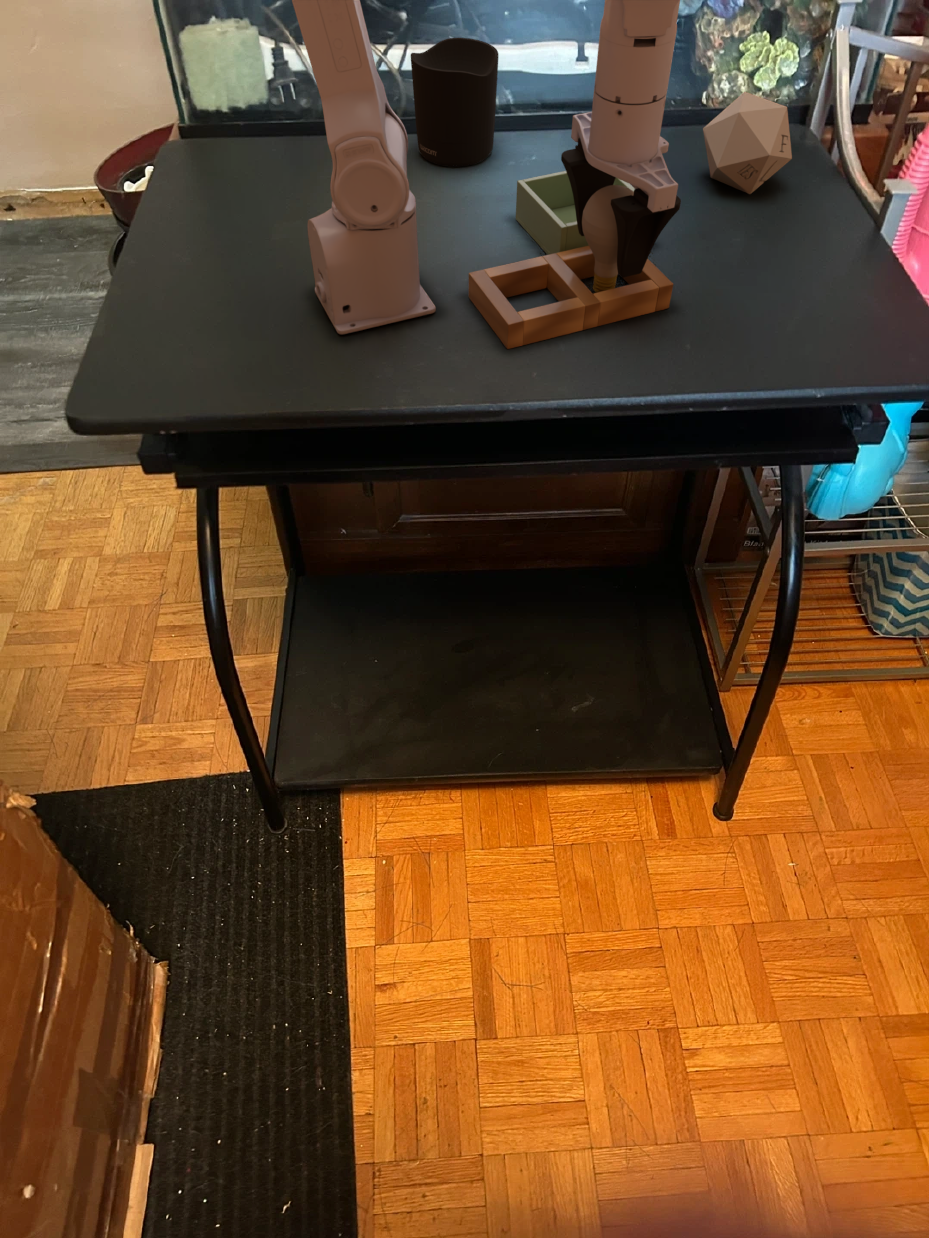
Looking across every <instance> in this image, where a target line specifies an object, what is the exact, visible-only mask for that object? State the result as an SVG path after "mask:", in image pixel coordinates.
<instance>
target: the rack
mask: <svg viewBox="0 0 929 1238" xmlns="http://www.w3.org/2000/svg"><path fill="white" fill-rule="evenodd" d="M594 267H595V257H594V255H593V253H592V251H591V249H590V247H589V246H585V247H580V248H576V249H572V250H567V251H563V252H559V253H554V254H549V255H547V254H545V255H542V256H540V255H539V256H536V257H532V258H528V259H523V260H519V261H515V262H511V263H507V264H502V265H497V266H493V267H488V268H484V269H480V270H479V269H478V270H475V271H470V272H468V298H469V300H470V301H471V302H472V304H473V306H474V307H475V308H476V309H477V310H478V312H479V313H480V314H481V315H482V317H483V318H484V320H485V321H486V323H487V324H488V326H490V328H491V330H493V332H494V333H495V334H496V336H497V338H498V339H499V340H500V342H501V343H502V344H503V345H504V347H505V348H506V350H510V349H513V348H519V347H522V346H526V345H529V344H533V343H538V342H541V341H544V340H549V339H553V338H557V337H561V336H565V335H569V334H574V333H576V332H581V331H585V330H589V329H593V328H596V327H599V326H600V327H601V326H605V325H609V324H612V323H616V322H620V321H624V320H628V319H633V318H636V317H639V316H643V315H647V314H652V313H655V312H659V311H664V310H667V309H669V308H670V303H671V299H672V294H673V290H674V289H673V288H674V283H673V281H671V279H669V278H668V277H667V276H666V274H664V273H663V272H662V271H661V270H660V269H659V268H658V267H657V266H656V265H655V264H654V263H653V262H652V261H651V260H650V259H649V258H648V259H647V261H646V263H645V266H644V268H643V270H642V272H641V273H640V274H636V275H632V276H628V277H624V278H622V279H623V280H624V282H626V283H627V284H626V285H623V286H619V287H615V288H614V289H610V290H606V291H602V292H598V293H595V292H594V293H593V292H592V291H591V290H590V289H589V288H588V286H587V285H586V284H585V283H584V282H583V281H582V280H585V279H589V278H594V275H595V272H594ZM544 289H547V290H548V291H549V292H550V294H551V295H552V296H553V297H554V298H555V299H556V300H557V302H553V303H547V304H544V305H539V306H536V307H532V308H527V309H524V310H519V311H517V310H516V309H515V307H514V306H513V305H512V304H511V303H510V302H509V300H508V298H510V297H515V296H519V295H524V294H527V293H531V292H536V291H539V290H544Z"/></svg>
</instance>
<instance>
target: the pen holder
mask: <svg viewBox="0 0 929 1238" xmlns="http://www.w3.org/2000/svg"><path fill="white" fill-rule="evenodd" d="M410 65H411V78H412V88H413V89H412V91H413V103H414V117H415V127H416V128H415V129H416V140H417V148H418V151H419V154H420V155H421V156H422V157H423V159H425V160H426V161H428V162H430V163H432V164H434V165H438V166H442V167H452V168H453V167H454V168H455V167H456V168H458V167H459V168H460V167H461V168H462V167H467V166H473V165H476V164H479V163H481V162H483V161H485V160H486V159H487V158H488V157H490V155H491V153H492V152H493V148H494V140H495V139H494V138H495V126H496V107H497V93H498V92H497V91H498V73H499V51H498V49H497V48H496V47H495V46H493V45H492V44H490V43H488V42H485V41H483V40H480V39H475V38H469V37H450V38H445V39H442V40H441V41H439V42H437V43H435V44H434V45H432V46H431V47H430V48H427V50H425V51H422V52H411V53H410Z"/></svg>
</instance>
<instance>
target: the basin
mask: <svg viewBox="0 0 929 1238" xmlns="http://www.w3.org/2000/svg"><path fill="white" fill-rule="evenodd" d="M613 185H620V186H625V187H627V188H629V189H631V190H632V191H634V189H635V188H634V187H633V186H632V185H631V184H629V183H627V182H625V181H623V180H620V179H618V178H615V181H614V184H613ZM515 201H516V202H515V220H516V221H517V222H518V224H519V225H521V227H522V228H523V229H524V230H525V231H526V232H527V233H528V235H529V236H530V237H531V238H532V240H534V241H535V243H536V244H537V245H538V246H539V247H540V248H541V249H542V250H543V251H544V253H545V255H549V254H554V253H559V252H563V251H567V250H572V249H576V248H580V247H585V246H589V245H588V243H587V241H586V238H585V236H581V235H580V234H579V231H578V225H577V219H576V211H575V204H574V198H573V192H572V188H571V184H570V181H569V178H568V175H567V172H566V170H563V171H558V172H553V173H548V174H544V175H539V176H533V177H529V178H524V179H519V180H516V200H515Z"/></svg>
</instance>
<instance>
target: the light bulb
mask: <svg viewBox="0 0 929 1238" xmlns="http://www.w3.org/2000/svg"><path fill="white" fill-rule="evenodd" d="M629 195H632V196H633V195H634V191H632V190H631V189H629V188H627V187H625V186H620V185H610V186H606V187H604V188H601V189H600V190H598V191H597V192H595V193H594V194H593V195H592V196H591V197H590V199H589V200H588V202H587V204H586V206H585V208H584V211H583V216H582V228H583V233H584V236H585V238H586V241H587V243H588V245H589V247H590V249H591V251H592V253H593V255H594V257H595V267H594V272H595V275H594V277H593V285H592V291H593V292H594V293H598V292H602V291H606V290H610V289H614V288H616V283H617V278H618V275H619V274H618V270H617V249H618V234H617V225H616V220H615V215H614V212H613V209H612V207H611V200H612V199H615V198H620V197H625V196H629Z"/></svg>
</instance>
